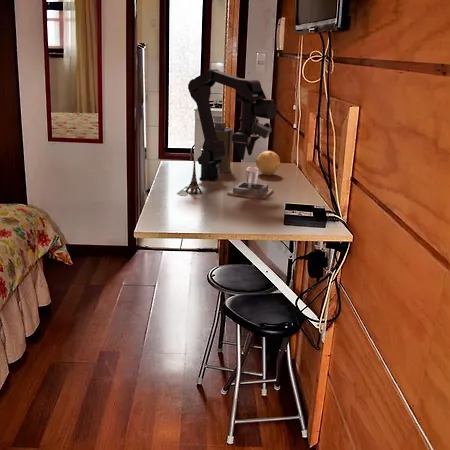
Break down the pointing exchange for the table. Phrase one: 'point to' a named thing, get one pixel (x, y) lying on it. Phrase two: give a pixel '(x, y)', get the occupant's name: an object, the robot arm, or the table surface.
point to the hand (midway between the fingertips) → (245, 157)
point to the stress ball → (268, 162)
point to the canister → (225, 144)
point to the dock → (251, 191)
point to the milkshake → (252, 177)
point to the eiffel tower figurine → (191, 186)
